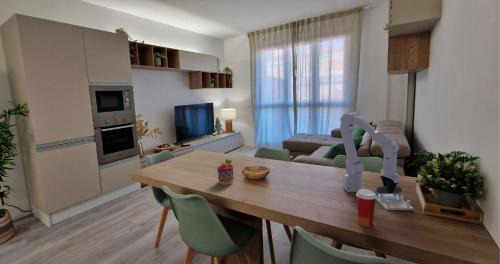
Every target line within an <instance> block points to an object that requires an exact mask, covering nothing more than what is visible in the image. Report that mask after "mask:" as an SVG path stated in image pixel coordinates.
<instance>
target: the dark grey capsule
mask: <svg viewBox="0 0 500 264" xmlns="http://www.w3.org/2000/svg"><path fill="white" fill-rule="evenodd" d="M375 190H376V191H377V192H378V194H379V195H381V194H393V193H396V194H400V193H401V194H402V191H403V190H402V188H401V186H398V185H396V187H395V190H394V192H393V193H388V186H383V185H382V186H379V185H378V186H377V187H376V189H375Z"/></svg>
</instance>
